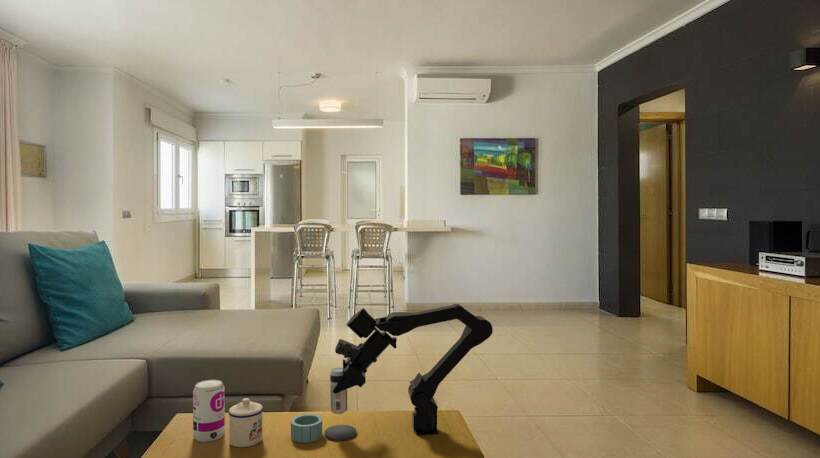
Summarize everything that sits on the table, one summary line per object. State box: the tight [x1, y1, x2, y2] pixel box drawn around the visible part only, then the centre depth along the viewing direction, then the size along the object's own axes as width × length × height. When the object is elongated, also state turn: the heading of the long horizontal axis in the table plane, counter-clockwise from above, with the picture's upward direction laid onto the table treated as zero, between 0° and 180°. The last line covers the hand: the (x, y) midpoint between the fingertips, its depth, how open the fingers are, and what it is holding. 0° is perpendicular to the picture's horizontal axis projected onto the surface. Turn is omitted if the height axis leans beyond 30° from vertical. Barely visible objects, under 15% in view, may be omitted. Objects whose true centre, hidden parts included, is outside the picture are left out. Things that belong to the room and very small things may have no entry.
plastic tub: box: [290, 413, 323, 444], centre depth 143 cm, size 9×9×5 cm
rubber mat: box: [324, 424, 357, 442], centre depth 145 cm, size 9×9×1 cm
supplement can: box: [192, 379, 226, 443], centre depth 143 cm, size 8×8×15 cm
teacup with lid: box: [228, 397, 264, 448], centre depth 142 cm, size 12×9×12 cm
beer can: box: [329, 367, 348, 415], centre depth 145 cm, size 5×5×12 cm
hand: (333, 389), depth 144 cm, fingers closed on beer can, 5 cm apart
